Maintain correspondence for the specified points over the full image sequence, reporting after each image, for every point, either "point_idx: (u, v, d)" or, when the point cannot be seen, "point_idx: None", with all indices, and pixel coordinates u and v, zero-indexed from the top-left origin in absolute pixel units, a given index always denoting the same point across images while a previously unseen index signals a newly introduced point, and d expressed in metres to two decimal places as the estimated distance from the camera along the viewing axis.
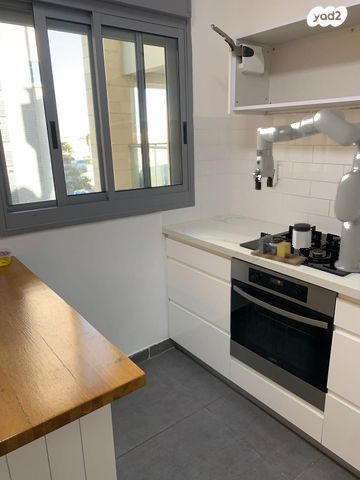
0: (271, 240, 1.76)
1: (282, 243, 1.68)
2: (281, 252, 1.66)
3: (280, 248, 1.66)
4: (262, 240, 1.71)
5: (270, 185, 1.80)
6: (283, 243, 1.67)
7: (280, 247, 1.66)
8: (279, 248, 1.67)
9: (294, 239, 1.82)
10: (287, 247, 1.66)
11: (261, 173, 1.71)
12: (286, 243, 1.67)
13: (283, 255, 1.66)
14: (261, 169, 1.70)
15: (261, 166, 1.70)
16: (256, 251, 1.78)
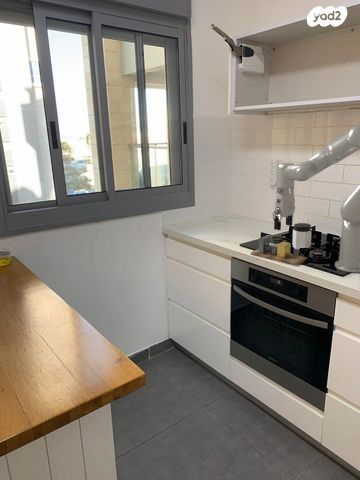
0: (271, 240, 1.76)
1: (282, 243, 1.68)
2: (281, 252, 1.66)
3: (280, 248, 1.66)
4: (262, 240, 1.71)
5: (289, 223, 1.67)
6: (283, 243, 1.67)
7: (280, 247, 1.66)
8: (279, 248, 1.67)
9: (294, 239, 1.82)
10: (287, 247, 1.66)
11: (281, 213, 1.58)
12: (286, 243, 1.67)
13: (283, 255, 1.66)
14: (281, 208, 1.58)
15: (281, 205, 1.57)
16: (256, 251, 1.78)
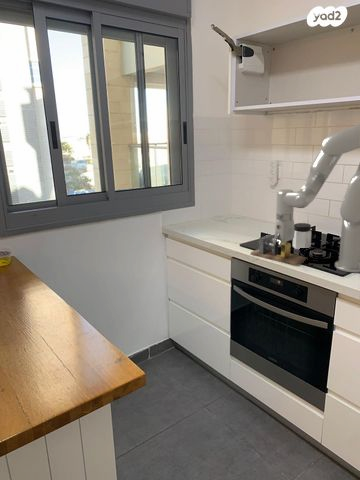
0: (271, 240, 1.76)
1: (282, 243, 1.68)
2: (281, 252, 1.66)
3: None
4: (262, 240, 1.71)
5: (290, 247, 1.70)
6: (283, 243, 1.67)
7: None
8: None
9: (294, 239, 1.82)
10: (287, 247, 1.66)
11: (281, 238, 1.62)
12: (286, 243, 1.67)
13: (283, 255, 1.66)
14: (281, 234, 1.61)
15: (281, 231, 1.61)
16: (256, 251, 1.78)
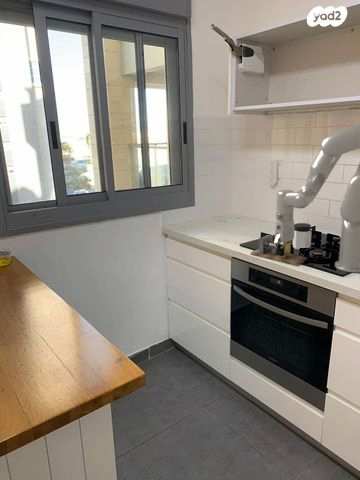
0: (271, 240, 1.76)
1: None
2: None
3: None
4: (262, 240, 1.71)
5: None
6: None
7: None
8: None
9: (294, 239, 1.82)
10: (287, 247, 1.66)
11: (281, 239, 1.62)
12: (286, 243, 1.67)
13: None
14: (281, 234, 1.61)
15: (281, 231, 1.61)
16: (256, 251, 1.78)
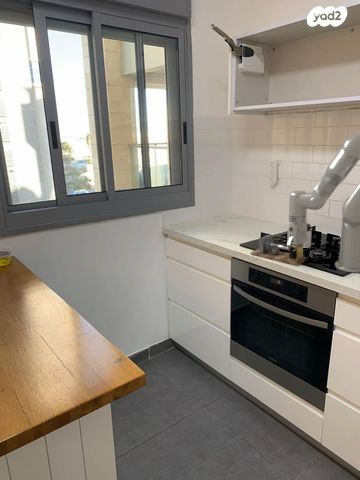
0: (271, 240, 1.76)
1: None
2: None
3: None
4: (262, 240, 1.71)
5: None
6: None
7: None
8: None
9: None
10: (300, 250, 1.62)
11: (294, 241, 1.57)
12: (299, 246, 1.63)
13: (296, 258, 1.61)
14: (294, 237, 1.57)
15: (294, 234, 1.56)
16: (256, 251, 1.78)
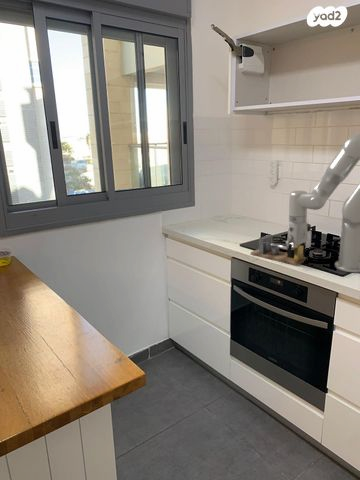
0: (271, 240, 1.76)
1: (295, 246, 1.63)
2: (294, 255, 1.62)
3: None
4: (262, 240, 1.71)
5: None
6: (295, 246, 1.62)
7: None
8: None
9: None
10: (300, 250, 1.62)
11: (294, 241, 1.57)
12: (299, 246, 1.63)
13: (296, 258, 1.61)
14: (295, 237, 1.56)
15: (295, 234, 1.56)
16: (256, 251, 1.78)
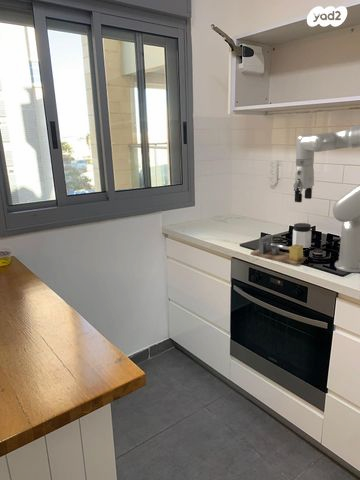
0: (271, 240, 1.76)
1: (295, 246, 1.63)
2: (294, 255, 1.62)
3: (293, 251, 1.62)
4: (262, 240, 1.71)
5: (309, 196, 1.67)
6: (295, 246, 1.62)
7: (293, 250, 1.62)
8: (292, 251, 1.62)
9: (294, 239, 1.82)
10: (300, 250, 1.62)
11: (302, 184, 1.58)
12: (299, 246, 1.63)
13: (296, 258, 1.61)
14: (302, 180, 1.58)
15: (302, 177, 1.57)
16: (256, 251, 1.78)
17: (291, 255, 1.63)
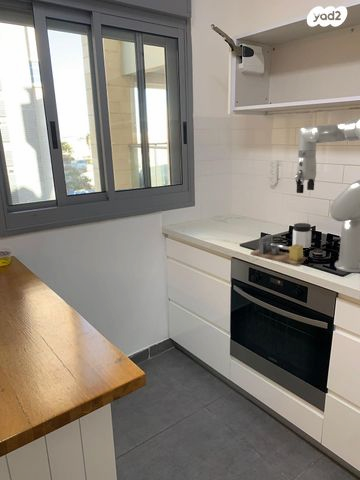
0: (271, 240, 1.76)
1: (295, 246, 1.63)
2: (294, 255, 1.62)
3: (293, 251, 1.62)
4: (262, 240, 1.71)
5: (311, 188, 1.70)
6: (295, 246, 1.62)
7: (293, 250, 1.62)
8: (292, 251, 1.62)
9: (294, 239, 1.82)
10: (300, 250, 1.62)
11: (304, 175, 1.61)
12: (299, 246, 1.63)
13: (296, 258, 1.61)
14: (304, 171, 1.61)
15: (304, 168, 1.60)
16: (256, 251, 1.78)
17: (291, 255, 1.63)
